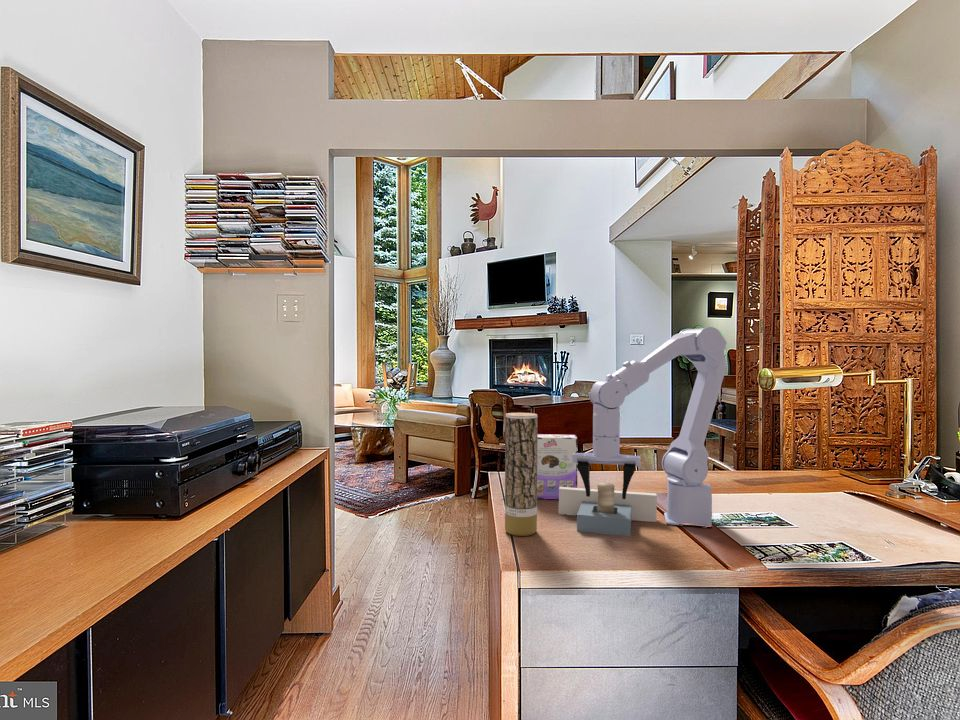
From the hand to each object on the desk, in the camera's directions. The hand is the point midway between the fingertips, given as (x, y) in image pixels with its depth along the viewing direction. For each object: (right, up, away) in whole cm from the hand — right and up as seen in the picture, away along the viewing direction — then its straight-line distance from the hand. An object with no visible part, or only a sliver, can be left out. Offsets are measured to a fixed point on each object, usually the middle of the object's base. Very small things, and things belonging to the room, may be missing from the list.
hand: (605, 496), depth 120 cm
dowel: (0, -5, 0) cm, 5 cm away
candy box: (-9, -6, +23) cm, 26 cm away
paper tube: (-19, -7, -5) cm, 21 cm away
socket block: (0, -7, 0) cm, 7 cm away
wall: (+2, -6, +7) cm, 9 cm away
